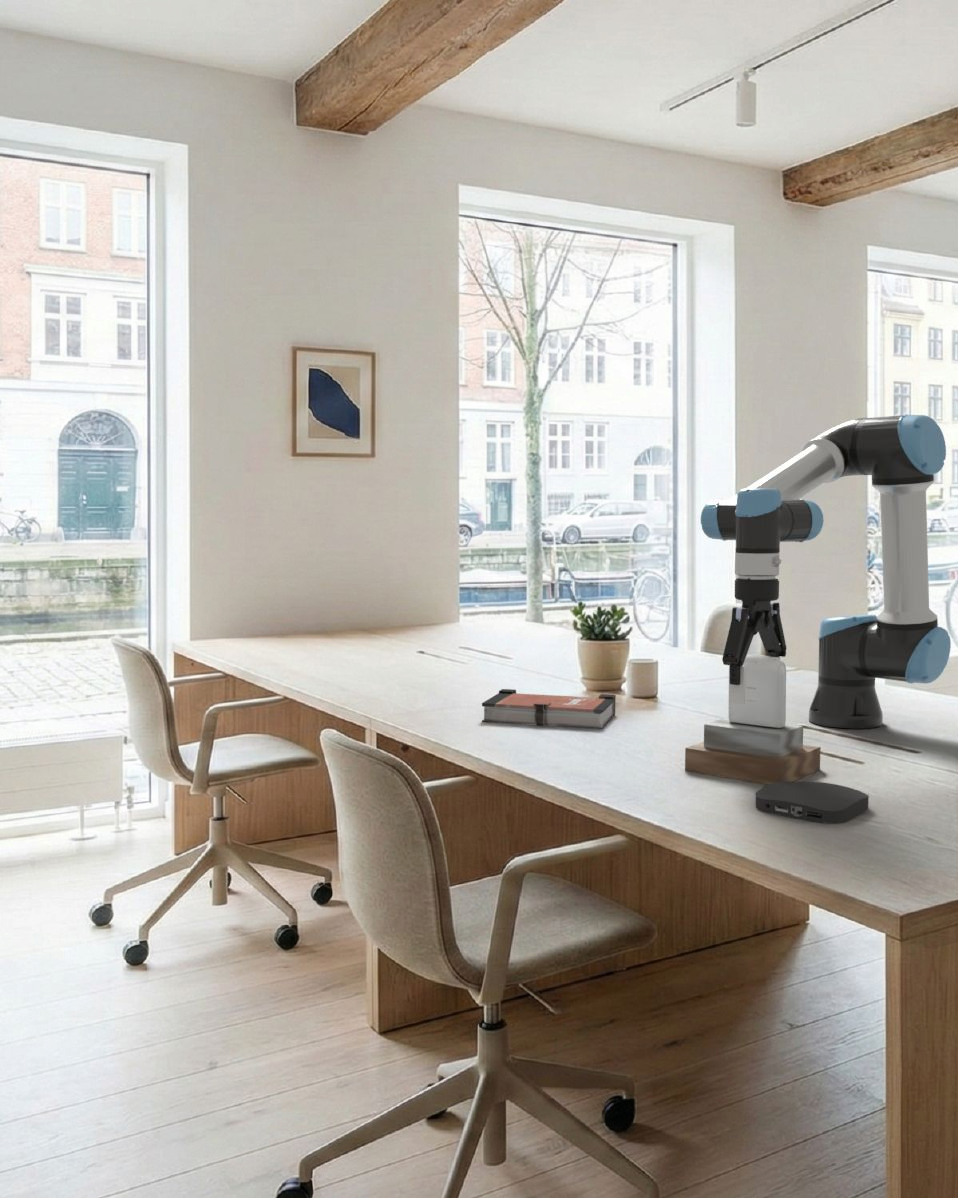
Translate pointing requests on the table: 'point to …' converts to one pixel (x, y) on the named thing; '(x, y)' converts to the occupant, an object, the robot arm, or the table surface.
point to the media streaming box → (812, 801)
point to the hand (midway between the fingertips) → (754, 698)
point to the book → (549, 710)
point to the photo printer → (762, 693)
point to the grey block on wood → (753, 753)
